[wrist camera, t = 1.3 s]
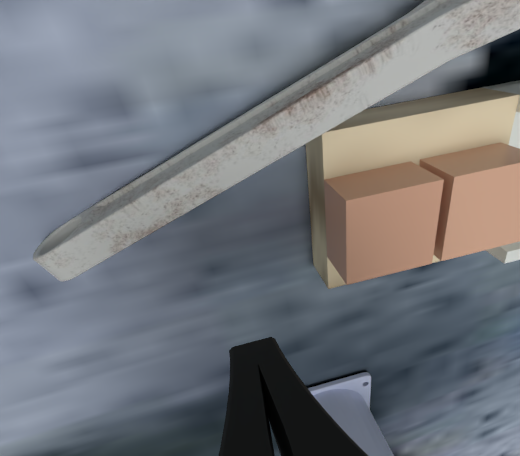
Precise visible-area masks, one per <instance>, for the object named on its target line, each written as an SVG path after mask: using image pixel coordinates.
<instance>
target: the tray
mask: <svg viewBox="0 0 520 456" xmlns="http://www.w3.org/2000/svg"><path fill="white" fill-rule="evenodd" d="M482 88H486V89H491V90H497V91H502V92H508V93H513V94H519V95H520V80H519V81H514V82H509V83H503V84H498V85H493V86H487V87H482ZM508 145H510V146H513V147H516V148H519V149H520V96H519V100H518V105H517V109H516V114H515V118H514V122H513V127H512V131H511V136H510V140H509V144H508ZM486 251H487V252H489V253H490V254H491V255H493V256H494V257H496V258H497V259H499V260H500V261H501V262H503V263H504V264H505V263H508V262H512V261H516V260H520V241H519V242H515V243H512V244H508V245H504V246H500V247H496V248H492V249H488V250H486Z"/></svg>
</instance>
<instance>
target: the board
mask: <svg viewBox="0 0 520 456" xmlns="http://www.w3.org/2000/svg"><path fill="white" fill-rule="evenodd" d="M519 96H520V95H519V94H513V93H508V92H502V91H497V90H491V89H486V88H477V89H471V90H466V91H461V92H455V93H450V94H445V95H439V96H434V97H429V98H423V99H418V100H413V101H407V102H402V103H397V104H391V105H386V106H381V107H375V108H370V109H365V110H363V111H362V112H360V113H358V114H356V115H355V116H353V117H351V118H349V119H348V120H346V121H344V122H343V123H341V124H339V125H337V126H336V127H334V128H332V129H330V130H329V131H327V132H325V133H324V134H322V135H320V136H318V137H317V138H315V139H313V140H311V141H310V142H308V143H306V158H307V173H308V189H309V204H310V220H311V235H312V250H313V265H314V266H315V268H316V270H317V271H318V273H319V274H320V276H321V278H322V279H323V281H324V283H325V284H326V286H327V288H328V289H330V288H334V287H338V286H342V285H346V283H345V282H344V280H343V279H342V277H341V276H340V275H339V273H338V272H337V270H336V269H335V267H334V266H333V265H332V263H331V262H330V260H329V259H328V257H327V242H326V217H325V193H324V180H325V179H329V178H334V177H339V176H344V175H348V174H353V173H358V172H363V171H367V170H372V169H377V168H382V167H386V166H391V165H396V164H401V163H405V162H410V161H411V162H413V163H415V164H416V165H418V166H419V164H420V159H424V158H429V157H434V156H439V155H443V154H448V153H453V152H458V151H462V150H467V149H472V148H477V147H481V146H486V145H491V144H496V143H500V142H501V143H504V144H507V145H508V144H509V140H510V136H511V131H512V127H513V122H514V118H515V114H516V109H517V105H518V100H519ZM438 261H440V260H439V259H438V258H437V257H436V256H435V255H433V260H432V263H434V262H438Z"/></svg>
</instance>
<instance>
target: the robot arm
mask: <svg viewBox="0 0 520 456" xmlns="http://www.w3.org/2000/svg"><path fill="white" fill-rule="evenodd" d="M229 353H230V383H229V395H228V403H227V411H226V419H225V425H224V430H223V436H222V441H221V447H220V452H219V456H274V449H273V443H272V437H271V431H270V424H271V427H272V430H273V433H274V436H275V439H276V442H277V445H278V448H279V451H280V454H281V456H394V455H393V453H392V451H391V449H390V447H389V445H388V443H387V442H386V440H385V438H384V436H383V434H382V432H381V430H380V428H379V426H378V425H377V423H376V421H375V419H374V417H373V415H372V413H371V411H370V394H371V376H370V374H369V373H368V372H363V373H359V374H356V375H352V376H349V377H345V378H342V379H338V380H335V381H331V382H328V383H324V384H321V385H317V386H314V387H310V388H307V387H306V386H305V385H304V383H303V382H302V381H301V379H300V378H299V377H298V375H297V374H296V372H295V371H294V370H293V368H292V367H291V365H290V364H289V362H288V361H287V359H286V358H285V356H284V354H283V353H282V351H281V349H280V348H279V346H278V344H277V342H276V340H275V339H274V338H272V337H269V338H265V339H261V340H258V341H254V342H250V343H246V344H243V345H239V346H235V347H232V348H231V349H230V351H229ZM269 421H270V424H269Z"/></svg>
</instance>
